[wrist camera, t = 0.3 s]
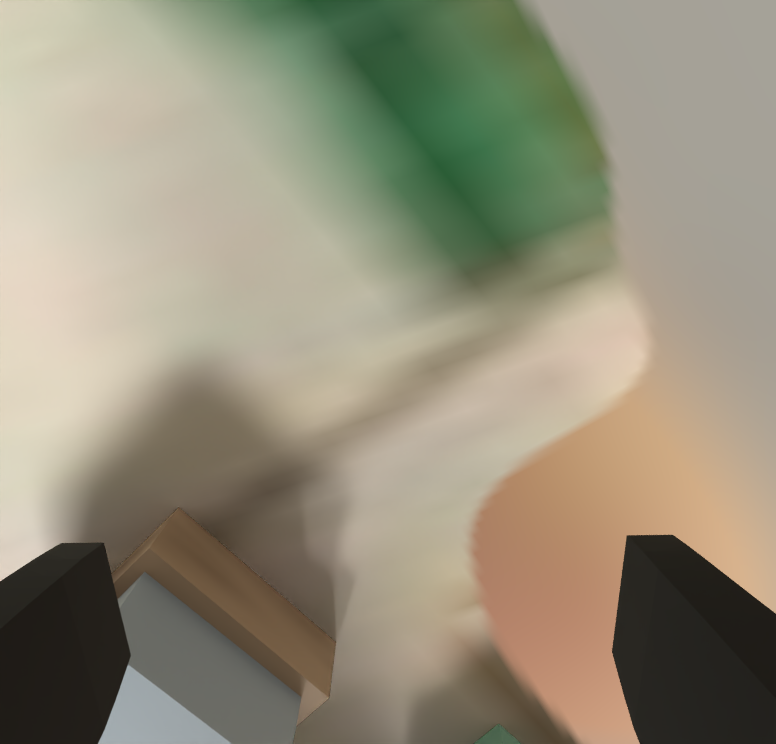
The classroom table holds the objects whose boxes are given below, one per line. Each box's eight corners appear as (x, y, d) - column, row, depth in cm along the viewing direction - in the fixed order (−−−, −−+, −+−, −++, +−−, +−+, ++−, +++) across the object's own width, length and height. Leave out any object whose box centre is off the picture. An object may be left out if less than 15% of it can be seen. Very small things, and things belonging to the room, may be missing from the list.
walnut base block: (203, 752, 23) (176, 830, 20) (50, 633, 22) (-3, 697, 19) (337, 633, 22) (329, 697, 19) (182, 501, 21) (149, 547, 18)
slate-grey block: (172, 812, 20) (136, 915, 17) (17, 700, 19) (-50, 789, 16) (301, 696, 19) (285, 784, 16) (144, 571, 18) (97, 640, 15)
